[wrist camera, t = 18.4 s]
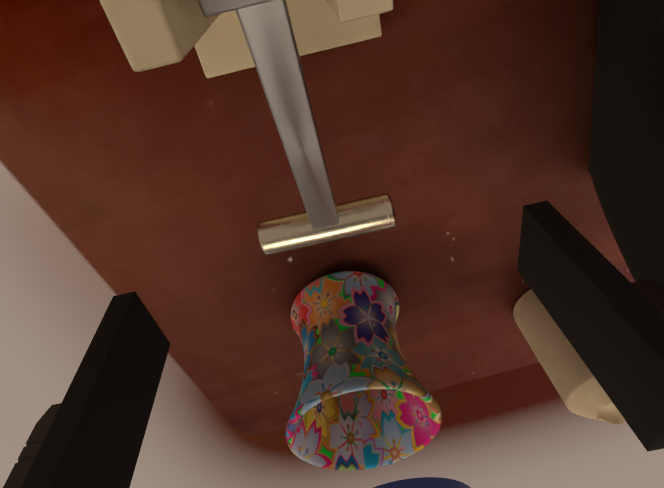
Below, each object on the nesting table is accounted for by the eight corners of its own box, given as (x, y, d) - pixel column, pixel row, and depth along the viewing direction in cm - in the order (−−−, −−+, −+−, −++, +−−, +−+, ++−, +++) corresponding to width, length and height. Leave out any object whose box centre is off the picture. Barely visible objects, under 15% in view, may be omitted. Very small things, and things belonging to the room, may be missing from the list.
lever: (385, 198, 18) (399, 243, 17) (265, 225, 18) (269, 271, 17) (354, -269, 7) (386, -241, 6) (51, -185, 7) (16, -141, 6)
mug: (277, 266, 30) (275, 397, 21) (404, 253, 30) (451, 377, 22) (295, 368, 37) (298, 496, 28) (397, 356, 37) (430, 480, 29)
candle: (576, 315, 36) (658, 422, 28) (513, 333, 37) (577, 442, 29) (577, 271, 33) (672, 378, 25) (509, 292, 34) (580, 402, 26)
